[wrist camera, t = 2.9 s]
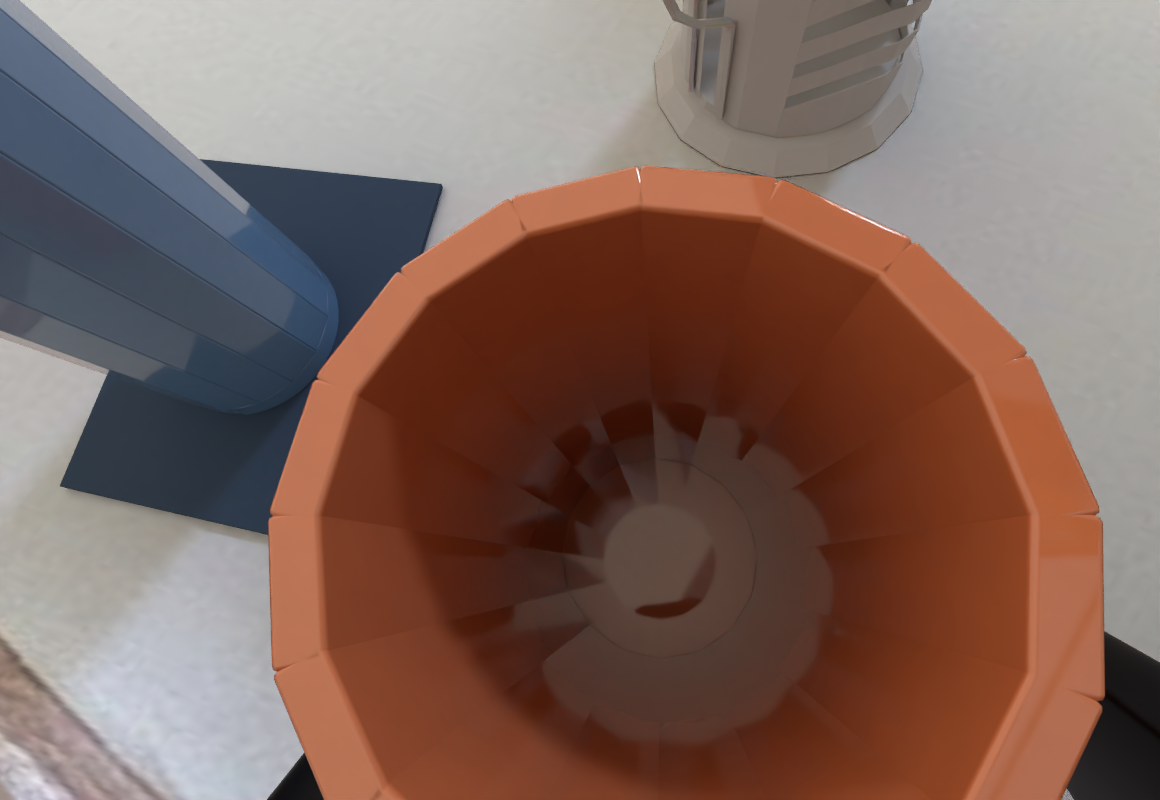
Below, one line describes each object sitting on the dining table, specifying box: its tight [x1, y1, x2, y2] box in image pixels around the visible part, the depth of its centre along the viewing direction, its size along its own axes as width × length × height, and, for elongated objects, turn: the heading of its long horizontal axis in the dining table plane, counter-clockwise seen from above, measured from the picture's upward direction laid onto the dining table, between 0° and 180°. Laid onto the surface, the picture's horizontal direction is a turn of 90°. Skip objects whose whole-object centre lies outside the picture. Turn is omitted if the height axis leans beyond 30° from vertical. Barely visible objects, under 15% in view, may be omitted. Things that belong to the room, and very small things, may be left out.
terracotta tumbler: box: [268, 166, 1105, 800], centre depth 11 cm, size 7×7×14 cm
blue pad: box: [60, 159, 443, 535], centre depth 22 cm, size 14×11×1 cm
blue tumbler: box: [0, 0, 339, 415], centre depth 15 cm, size 7×7×14 cm
